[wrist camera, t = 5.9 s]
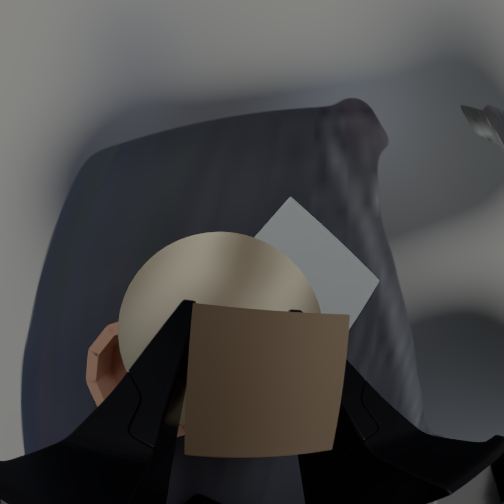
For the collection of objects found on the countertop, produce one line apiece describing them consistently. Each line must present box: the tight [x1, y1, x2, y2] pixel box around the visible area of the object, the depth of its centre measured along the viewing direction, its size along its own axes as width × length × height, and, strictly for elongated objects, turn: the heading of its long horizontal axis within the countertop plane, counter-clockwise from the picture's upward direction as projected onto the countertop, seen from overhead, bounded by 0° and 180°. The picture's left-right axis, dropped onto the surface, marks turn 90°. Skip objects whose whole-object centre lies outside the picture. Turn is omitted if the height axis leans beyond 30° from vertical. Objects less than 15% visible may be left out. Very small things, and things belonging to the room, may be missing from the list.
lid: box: [118, 232, 350, 458], centre depth 10 cm, size 12×12×11 cm
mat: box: [254, 197, 379, 329], centre depth 23 cm, size 12×12×1 cm
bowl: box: [86, 322, 185, 437], centre depth 18 cm, size 9×9×4 cm
